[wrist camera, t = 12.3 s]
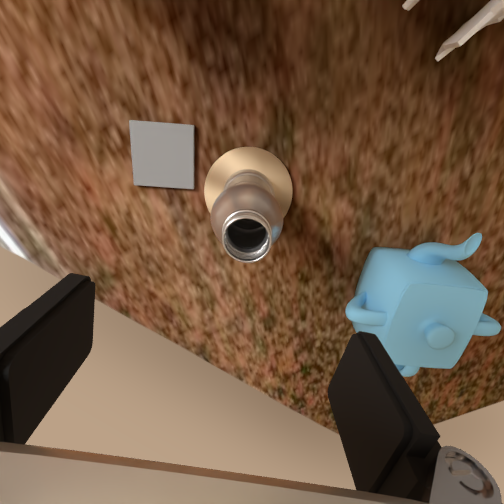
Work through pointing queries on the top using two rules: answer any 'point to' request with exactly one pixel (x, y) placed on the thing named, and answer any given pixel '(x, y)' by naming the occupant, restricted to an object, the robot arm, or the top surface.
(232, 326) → the top surface
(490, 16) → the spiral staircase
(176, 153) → the slate coaster
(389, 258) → the teapot
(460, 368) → the top surface
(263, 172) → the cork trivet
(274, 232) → the silver metal bottle
